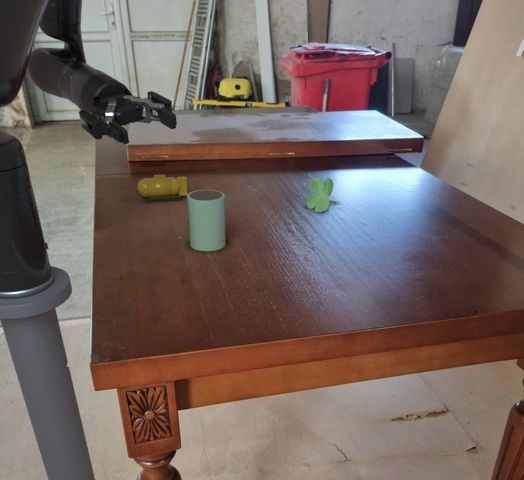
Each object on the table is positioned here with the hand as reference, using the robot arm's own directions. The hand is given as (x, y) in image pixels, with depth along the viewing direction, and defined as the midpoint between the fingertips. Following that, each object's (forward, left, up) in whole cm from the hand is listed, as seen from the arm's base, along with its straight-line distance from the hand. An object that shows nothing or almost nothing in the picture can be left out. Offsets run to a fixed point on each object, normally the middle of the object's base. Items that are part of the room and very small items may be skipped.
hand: (150, 130), depth 81 cm
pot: (+8, -2, -18) cm, 20 cm away
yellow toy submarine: (+2, +25, -18) cm, 31 cm away
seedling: (+34, +13, -18) cm, 40 cm away
